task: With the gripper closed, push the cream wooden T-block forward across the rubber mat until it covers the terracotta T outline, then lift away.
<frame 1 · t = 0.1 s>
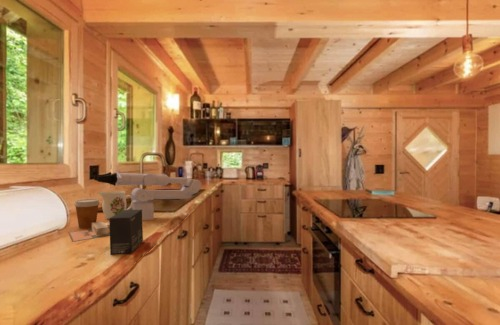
hand: (95, 178, 119), 22 cm above the countertop, tool horizontal, fingers open, 7 cm apart
mat: (101, 233, 108), on the countertop
t block: (109, 230, 110), point 1 cm above the countertop, touching mat
disposable coffee cup: (87, 228, 117), on the countertop
pitcher: (116, 218, 136), on the countertop
small box: (127, 248, 91), on the countertop
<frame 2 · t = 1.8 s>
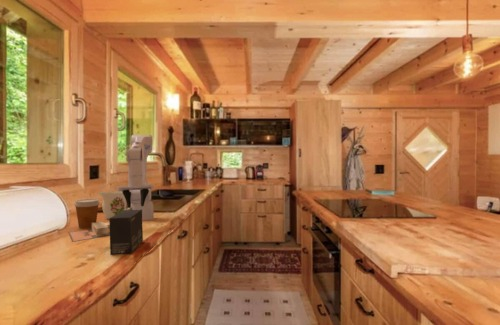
hand: (135, 206, 116), 9 cm above the countertop, tool pointing down, fingers open, 5 cm apart
nothing on the countertop moved.
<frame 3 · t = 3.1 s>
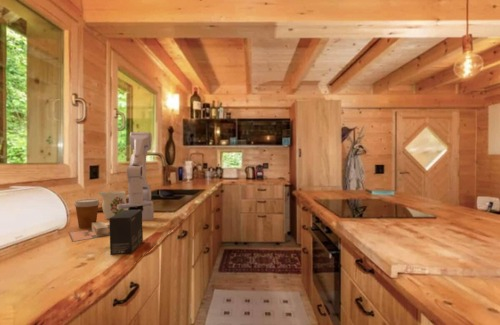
hand: (135, 223, 116), 2 cm above the countertop, tool pointing down, fingers closed
nothing on the countertop moved.
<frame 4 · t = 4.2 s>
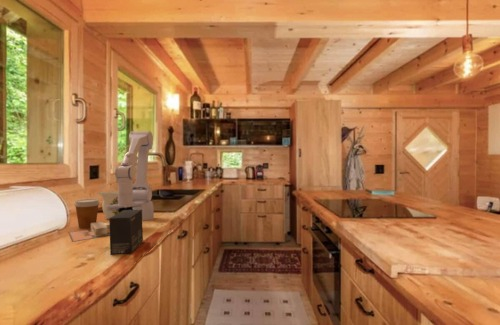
hand: (125, 225, 114), 2 cm above the countertop, tool pointing down, fingers closed
t block: (108, 230, 110), point 1 cm above the countertop, touching gripper
everything else where it was.
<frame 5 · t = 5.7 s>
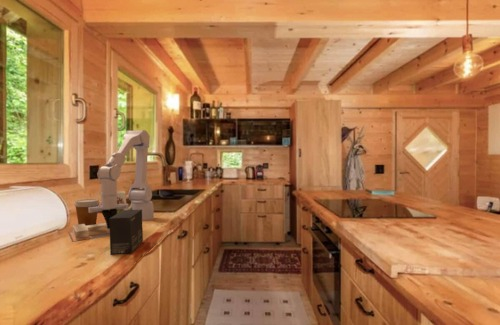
hand: (109, 227, 110), 2 cm above the countertop, tool pointing down, fingers closed
t block: (90, 233, 106), point 1 cm above the countertop, touching gripper, mat
everything else where it was.
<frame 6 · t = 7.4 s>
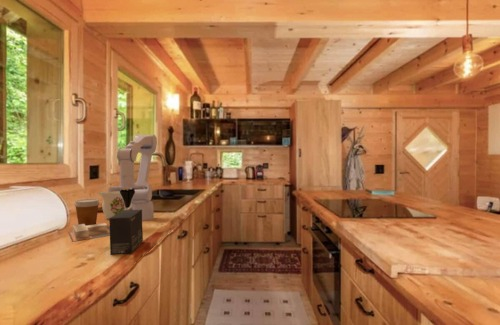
hand: (127, 207, 115), 9 cm above the countertop, tool pointing down, fingers closed
t block: (90, 233, 106), point 1 cm above the countertop, touching mat
everything else where it was.
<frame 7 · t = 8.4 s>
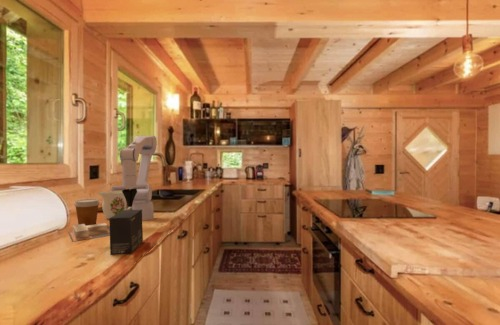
hand: (129, 206, 116), 9 cm above the countertop, tool pointing down, fingers closed
nothing on the countertop moved.
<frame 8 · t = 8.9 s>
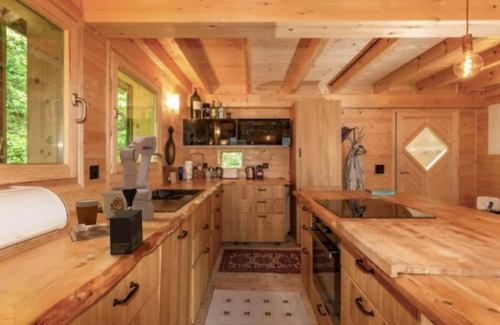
hand: (129, 206, 116), 9 cm above the countertop, tool pointing down, fingers closed
nothing on the countertop moved.
at the end: t block 0.1 cm from the target spot, point 0.6 cm above the countertop; t block tilted 0° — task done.
